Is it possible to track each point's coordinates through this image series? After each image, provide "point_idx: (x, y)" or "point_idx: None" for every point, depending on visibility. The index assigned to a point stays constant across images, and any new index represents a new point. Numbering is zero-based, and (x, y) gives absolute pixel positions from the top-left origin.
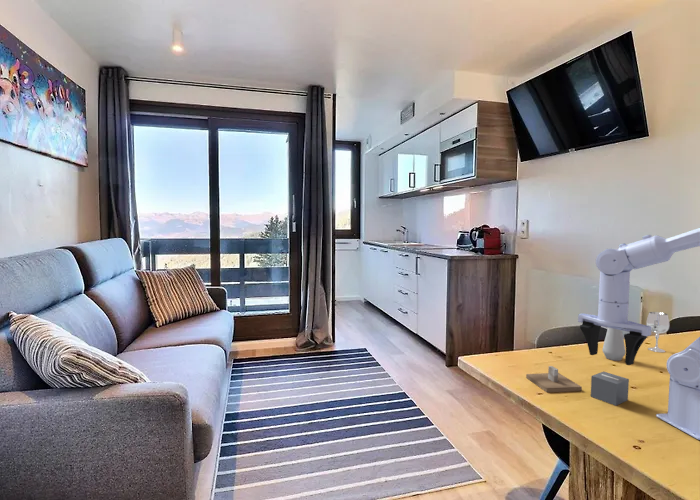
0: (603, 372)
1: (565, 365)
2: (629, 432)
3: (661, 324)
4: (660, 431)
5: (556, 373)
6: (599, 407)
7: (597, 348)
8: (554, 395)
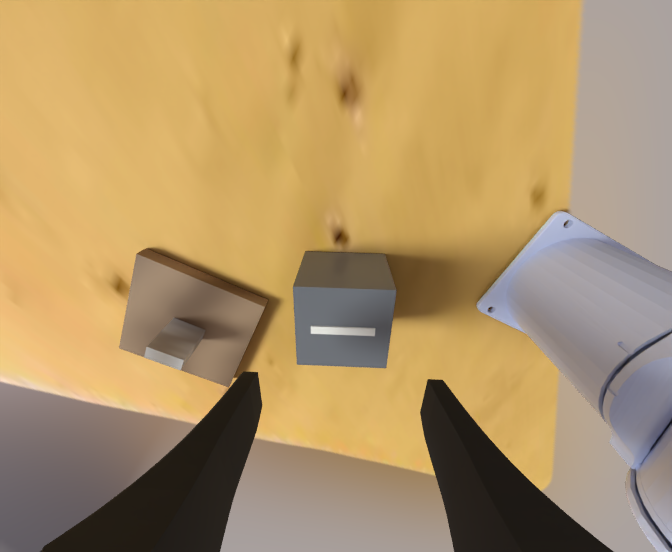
0: (300, 299)
1: (28, 75)
2: None
3: None
4: (494, 367)
5: (189, 353)
6: None
7: (247, 397)
8: None
